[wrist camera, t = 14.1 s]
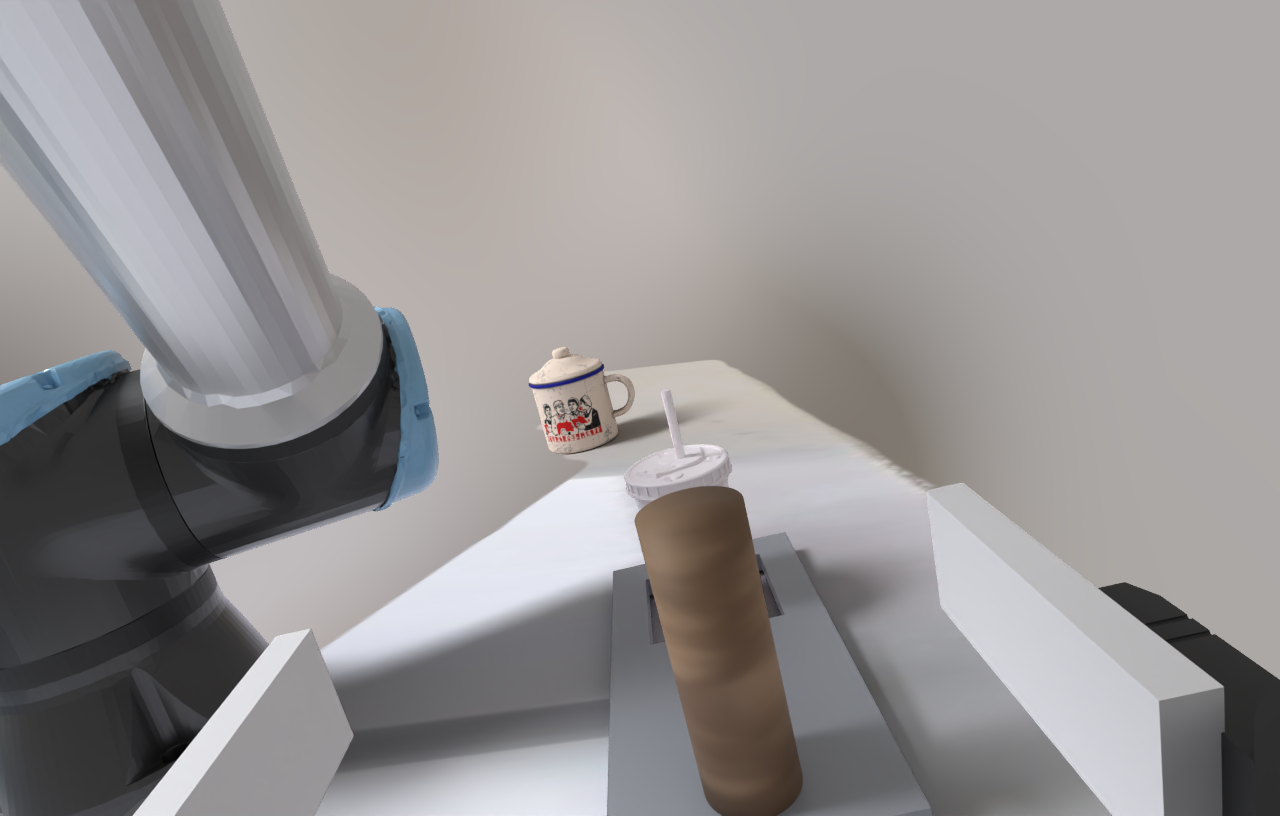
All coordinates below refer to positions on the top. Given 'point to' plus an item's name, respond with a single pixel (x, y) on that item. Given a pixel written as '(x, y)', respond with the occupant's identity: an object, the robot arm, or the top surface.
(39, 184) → the robot arm
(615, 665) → the cup holder tray
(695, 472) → the smoothie
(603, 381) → the teacup with lid
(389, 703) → the top surface
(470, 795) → the top surface
